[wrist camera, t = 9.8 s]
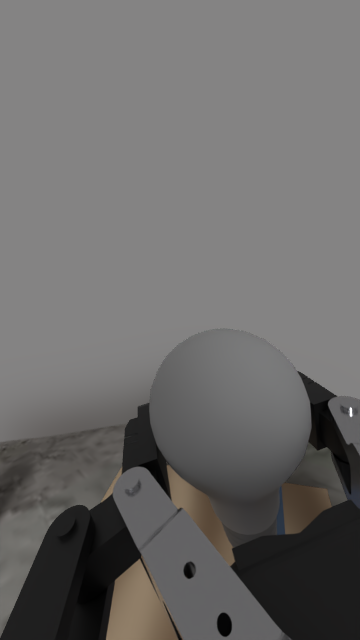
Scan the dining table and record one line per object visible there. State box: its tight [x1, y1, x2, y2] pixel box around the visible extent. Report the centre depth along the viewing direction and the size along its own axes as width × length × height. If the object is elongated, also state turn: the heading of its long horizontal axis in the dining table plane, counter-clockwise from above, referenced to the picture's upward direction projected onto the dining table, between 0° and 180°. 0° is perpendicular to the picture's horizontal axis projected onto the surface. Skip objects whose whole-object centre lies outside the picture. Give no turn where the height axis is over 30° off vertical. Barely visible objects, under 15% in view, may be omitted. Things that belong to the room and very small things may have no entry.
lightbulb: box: [149, 329, 312, 547], centre depth 10 cm, size 6×6×11 cm
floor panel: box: [101, 465, 332, 640], centre depth 15 cm, size 20×16×2 cm
